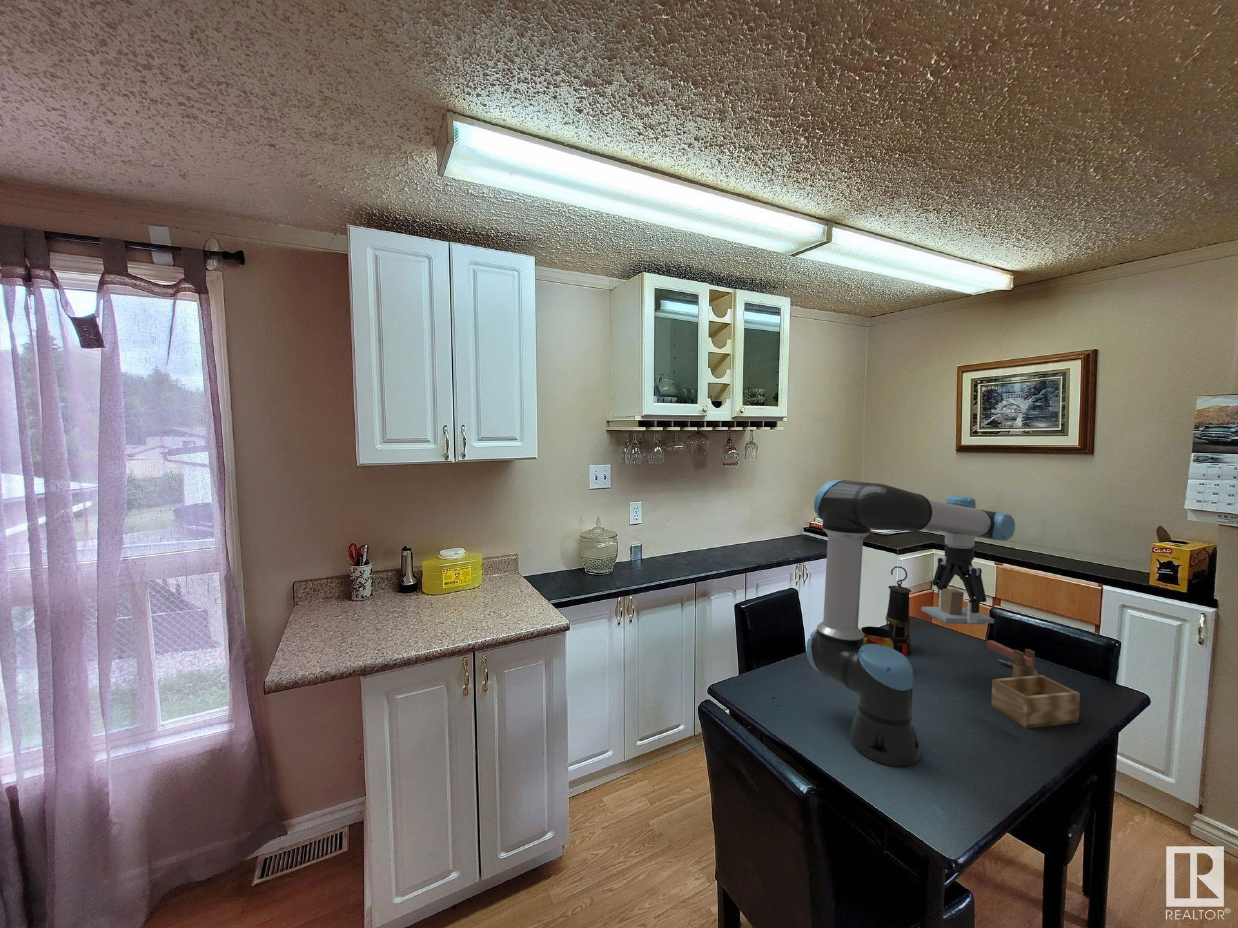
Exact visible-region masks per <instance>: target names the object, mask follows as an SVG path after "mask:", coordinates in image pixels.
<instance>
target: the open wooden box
mask: <svg viewBox="0 0 1238 928" xmlns="http://www.w3.org/2000/svg"><path fill="white" fill-rule="evenodd" d="M991 682H992V683H991V684H992V685H991V706H990V707H991V708H992V709H994V710H996V711H997V712H999V713H1001V714H1002V715H1004V716H1006V717H1007V718H1009V719H1010V720H1012V721H1014V722H1015V723H1017V724H1019V725H1020V726H1022V727H1023V728H1025V729H1032V728H1040V727H1041V728H1042V727H1051V726H1059V725H1068V724H1076V723H1077V724H1078V723H1080V722H1079V719H1080V699H1081V698H1080V697H1081V693H1080V692H1077V691H1076V690H1074V689H1072V688H1070V687H1068V686H1066V685H1063V684H1062V683H1060V682H1057V681H1056V680H1053V679H1051V678H1049V677H1047V676H1045V675H1043V674H1039V675H1035V676H1024V677H1004V678H1003V677H1002V678H993V679H992V681H991Z"/></svg>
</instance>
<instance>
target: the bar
mask: <svg viewBox="0 0 1238 928" xmlns="http://www.w3.org/2000/svg"><path fill="white" fill-rule="evenodd" d="M985 647H986V648H987V649H989V650H992V651H994V652H996V653H998V654H1001V656H1004V657H1006V658H1009V659H1010V660H1012V661H1013V650H1014V649H1012V648H1010V647H1008V646H1006V645H1003V644H1001V643H999V642H997V641H995V640H991V639H990V640H986V645H985ZM1023 665H1025V666H1033V659H1032V658H1029V657H1027V656H1025V654H1024V657H1023Z"/></svg>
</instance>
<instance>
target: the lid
mask: <svg viewBox="0 0 1238 928" xmlns="http://www.w3.org/2000/svg"><path fill="white" fill-rule="evenodd" d="M964 595H965V594H964V591H961V590H959V589H955V588H948V589H943V594H942V605H941V607H939V606H921V608H920V609H921V611H922V612H924V613H926V614H927V615H928V616H929V617H932V618H934V619H936V620H937V621H940V622H942V623H944V624H948V625H949V624H951V625H953V624H954V625H955V624H956V625H986V624H994V623H995V619H994V618H992V617H989V616H988V615H985V614H982V613H980V612H979V613H978V614H977V623H968V622H967V611H968V607H963V604H964Z"/></svg>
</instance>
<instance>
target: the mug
mask: <svg viewBox="0 0 1238 928" xmlns="http://www.w3.org/2000/svg"><path fill="white" fill-rule="evenodd" d="M859 629H860V630H861V631H862V632H863V634H864V645H866V644H878V645H881V646H883V647H884V646H886V647H889V648H892V649H893V644H903V649H902V654H903V655H904V656H905V657H906V658H907V659H908V655H907V638H894V635H893V633H892V632H891V631H889V629H887V630H886V628H883V627H878V626H872V625H871V626H863V627H861V628H859Z"/></svg>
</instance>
